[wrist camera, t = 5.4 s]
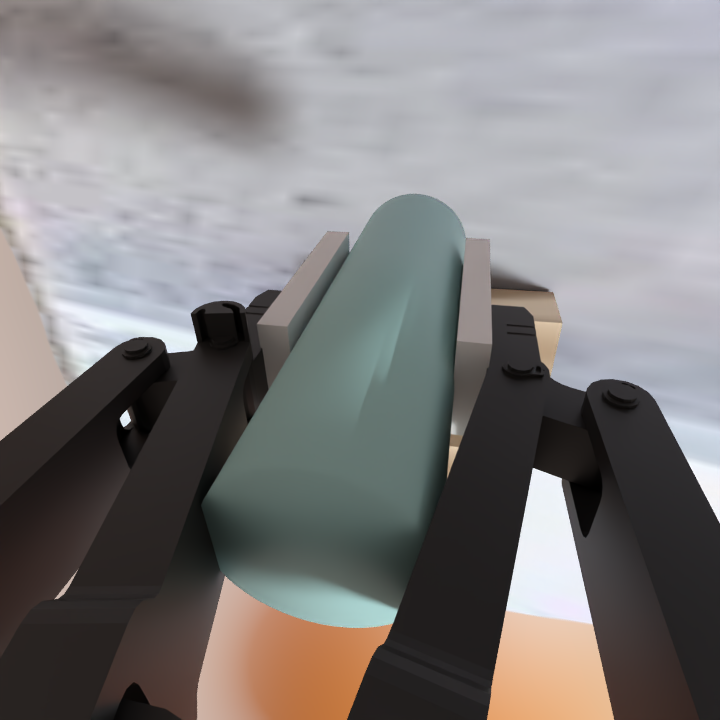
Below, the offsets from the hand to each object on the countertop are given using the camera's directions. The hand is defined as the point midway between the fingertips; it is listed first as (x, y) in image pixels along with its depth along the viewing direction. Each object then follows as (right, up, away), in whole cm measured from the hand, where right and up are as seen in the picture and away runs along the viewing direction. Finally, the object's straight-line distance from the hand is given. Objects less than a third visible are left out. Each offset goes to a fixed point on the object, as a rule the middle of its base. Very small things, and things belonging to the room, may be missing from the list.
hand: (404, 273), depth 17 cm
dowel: (+1, +1, +2) cm, 3 cm away
